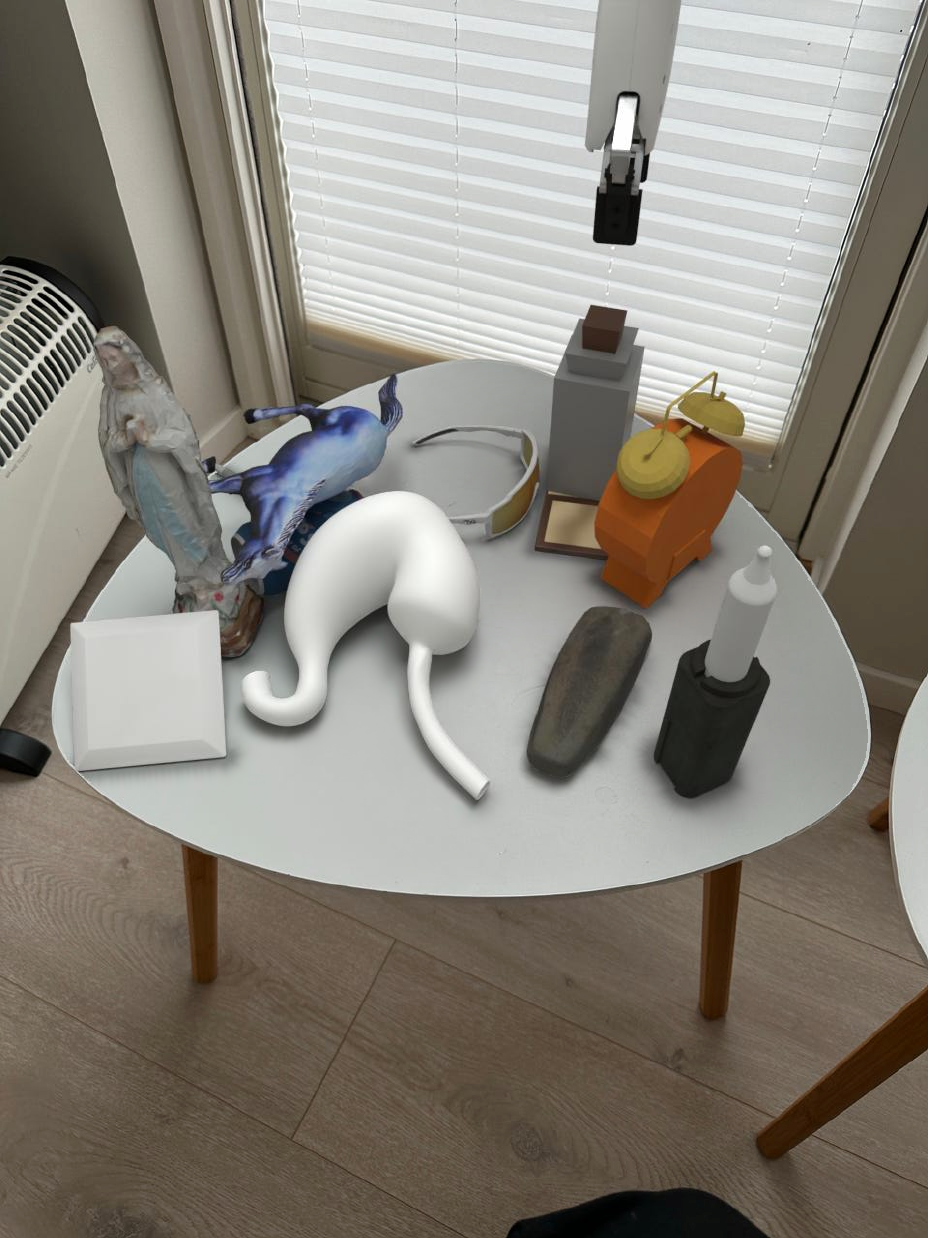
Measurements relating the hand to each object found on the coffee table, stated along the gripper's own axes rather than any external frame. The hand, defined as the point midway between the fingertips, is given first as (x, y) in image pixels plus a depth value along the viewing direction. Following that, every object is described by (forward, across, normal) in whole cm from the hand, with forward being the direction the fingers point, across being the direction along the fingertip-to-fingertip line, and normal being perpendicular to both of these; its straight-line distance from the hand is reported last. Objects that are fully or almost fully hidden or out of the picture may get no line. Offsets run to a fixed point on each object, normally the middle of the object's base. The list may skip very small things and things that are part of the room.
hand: (620, 209), depth 72 cm
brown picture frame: (+28, +3, -1) cm, 29 cm away
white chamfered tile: (+24, +34, -32) cm, 53 cm away
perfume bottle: (+28, 0, -1) cm, 28 cm away
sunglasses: (+28, +3, -12) cm, 31 cm away
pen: (+28, +7, -32) cm, 43 cm away
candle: (+29, +31, +11) cm, 44 cm away
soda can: (+24, +20, -29) cm, 43 cm away
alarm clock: (+29, +10, +7) cm, 31 cm away
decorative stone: (+29, +26, +3) cm, 39 cm away
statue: (+28, +24, -30) cm, 48 cm away
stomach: (+28, +25, -14) cm, 40 cm away
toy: (+20, +9, -31) cm, 38 cm away
